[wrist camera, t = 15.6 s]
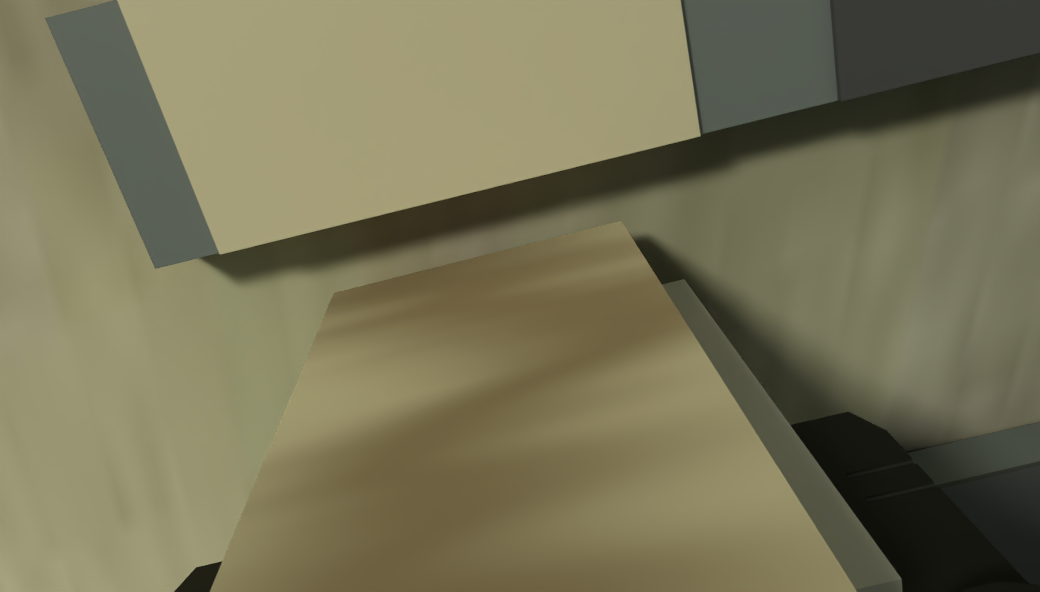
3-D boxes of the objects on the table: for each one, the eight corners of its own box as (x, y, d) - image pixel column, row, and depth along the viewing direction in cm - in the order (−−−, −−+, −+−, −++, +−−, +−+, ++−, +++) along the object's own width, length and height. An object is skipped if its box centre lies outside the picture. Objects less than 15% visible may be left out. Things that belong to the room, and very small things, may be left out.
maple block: (621, 221, 12) (875, 621, 5) (670, 464, 14) (912, 1044, 6) (334, 293, 12) (125, 795, 5) (417, 524, 14) (362, 1162, 6)
